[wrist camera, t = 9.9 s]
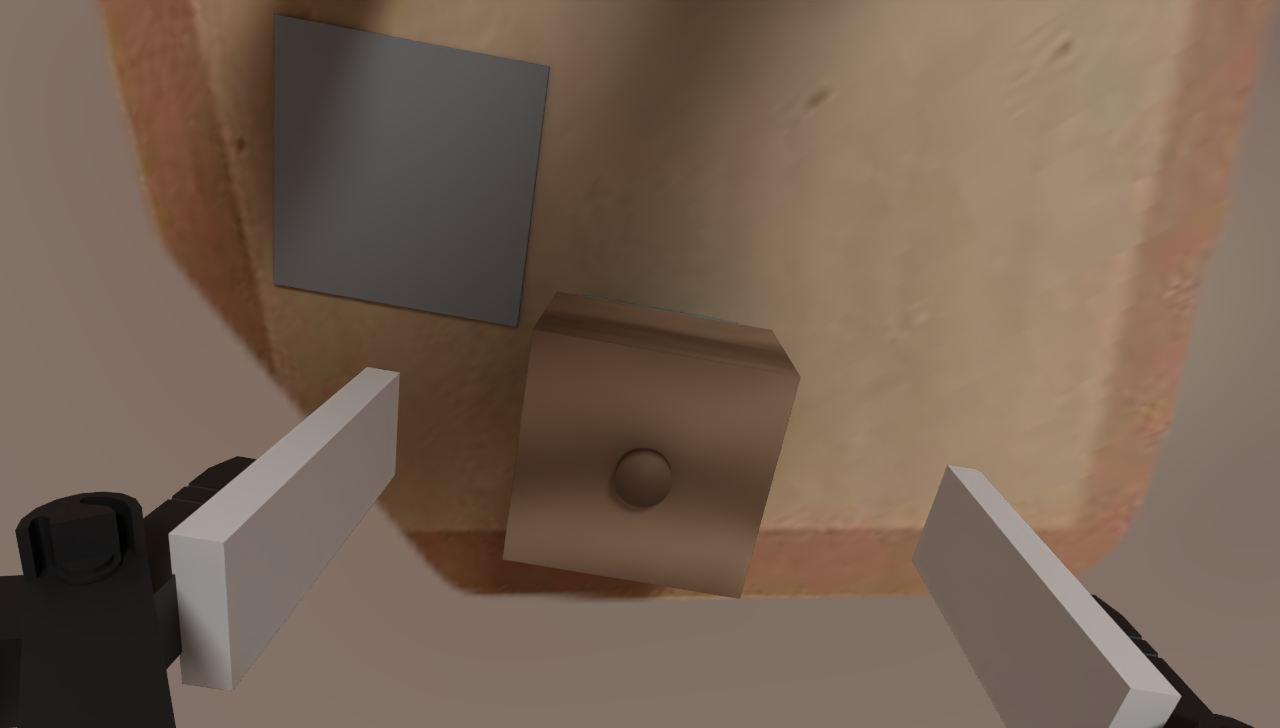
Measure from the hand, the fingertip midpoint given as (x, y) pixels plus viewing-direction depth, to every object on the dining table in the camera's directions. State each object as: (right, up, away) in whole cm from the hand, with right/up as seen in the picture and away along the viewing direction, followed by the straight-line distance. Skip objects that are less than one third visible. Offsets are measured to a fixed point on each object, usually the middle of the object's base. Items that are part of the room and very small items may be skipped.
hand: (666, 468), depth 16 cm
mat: (-13, +12, +20) cm, 27 cm away
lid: (0, 0, +19) cm, 19 cm away
